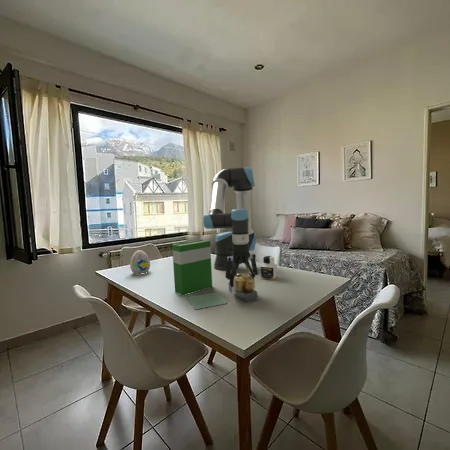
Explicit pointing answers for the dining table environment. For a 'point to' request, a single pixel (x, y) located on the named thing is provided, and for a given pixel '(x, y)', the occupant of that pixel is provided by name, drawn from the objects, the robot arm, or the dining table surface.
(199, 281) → the hardback book
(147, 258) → the decorative egg
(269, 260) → the medicine bottle
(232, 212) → the robot arm
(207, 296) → the mat
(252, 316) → the dining table surface
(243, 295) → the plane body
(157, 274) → the dining table surface
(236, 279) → the lever cap
